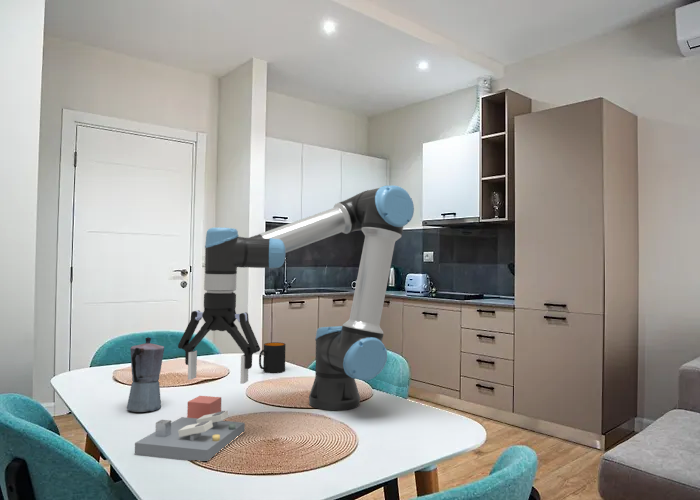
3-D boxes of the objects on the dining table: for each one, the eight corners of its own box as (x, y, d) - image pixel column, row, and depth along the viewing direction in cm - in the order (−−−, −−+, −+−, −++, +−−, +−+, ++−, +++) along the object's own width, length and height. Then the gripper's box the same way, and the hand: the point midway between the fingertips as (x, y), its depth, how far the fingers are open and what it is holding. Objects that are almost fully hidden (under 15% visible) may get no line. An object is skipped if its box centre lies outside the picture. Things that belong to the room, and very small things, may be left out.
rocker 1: (213, 426, 115) (211, 419, 115) (205, 431, 112) (203, 424, 112) (187, 431, 116) (186, 424, 117) (179, 436, 113) (177, 429, 113)
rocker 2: (228, 416, 123) (227, 409, 123) (221, 420, 119) (220, 414, 120) (205, 421, 124) (203, 414, 124) (197, 425, 121) (196, 419, 121)
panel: (244, 432, 125) (244, 418, 125) (206, 462, 107) (207, 444, 107) (181, 427, 129) (181, 412, 129) (134, 454, 110) (135, 437, 111)
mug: (251, 373, 193) (251, 345, 193) (274, 368, 202) (274, 341, 202) (266, 376, 188) (267, 347, 188) (289, 370, 197) (290, 343, 197)
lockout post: (170, 433, 117) (171, 420, 117) (164, 437, 114) (165, 423, 114) (161, 432, 117) (161, 419, 117) (155, 436, 115) (155, 422, 115)
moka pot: (170, 402, 151) (171, 334, 152) (151, 418, 136) (153, 342, 137) (137, 402, 151) (139, 334, 152) (115, 417, 136) (117, 342, 136)
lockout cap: (221, 415, 139) (221, 397, 139) (209, 423, 133) (210, 403, 133) (199, 414, 140) (199, 395, 140) (187, 421, 134) (187, 401, 134)
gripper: (274, 292, 124) (272, 380, 124) (181, 289, 130) (179, 373, 129) (263, 294, 117) (260, 387, 117) (164, 290, 122) (162, 380, 122)
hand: (217, 380), depth 123 cm, fingers open, 13 cm apart
